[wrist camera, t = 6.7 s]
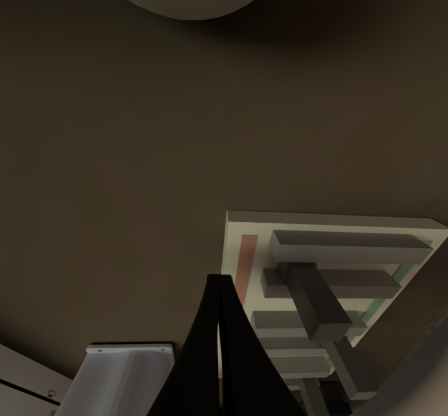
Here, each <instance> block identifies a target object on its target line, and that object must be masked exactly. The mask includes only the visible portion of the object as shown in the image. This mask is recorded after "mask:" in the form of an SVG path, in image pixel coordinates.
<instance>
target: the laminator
mask: <svg viewBox="0 0 448 416" xmlns="http://www.w3.org/2000/svg"><path fill="white" fill-rule="evenodd" d="M72 382H73V380H71V379H69V378H67V377H65V376H63V375H61V374H59V373H57V372H55V371H53V370H51V369H49V368H47V367H45V366H43V365H41V364H39V363H37V362H35V361H33V360H31V359H29V358H27V357H25V356H23V355H21V354H19V353H17V352H15V351H13V350H11V349H9V348H7V347H5V346H3V345H1V344H0V416H55V414H56V412H57V410H58V408H59V407H60V405H61V403H62V401H63V399H64V397H65V395H66V393H67V392H68V390H69V388H70V386H71V384H72Z"/></svg>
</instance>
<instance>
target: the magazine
mask: <svg viewBox="0 0 448 416" xmlns="http://www.w3.org/2000/svg"><path fill="white" fill-rule="evenodd" d="M319 383H320V386H319V389H320V391H321V394H322V397H323V399H324V402H325V405H326V407H327V410H328V412H329V415H330V416H349V415H351V414H353V413H352V411H351V409H350V406H349V404H348V403H344V402H343V400H342V397H341V395H340V393H339V391H338V388H337V386H336V384H335V382H319ZM300 406H301V407H302V408H303V410H304V411H305V413H306V414H307V416H308V413H307V410H306V407H305V404H304V400H303V401H302V402H301V404H300Z"/></svg>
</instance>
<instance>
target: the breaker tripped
mask: <svg viewBox="0 0 448 416" xmlns="http://www.w3.org/2000/svg"><path fill="white" fill-rule="evenodd" d="M316 267H317V263H307V262H278V265H277V270H278V272H279V275H280V277H281V280H282V281H285V283H286V285H287V287H288V290H289V292H290V295H291V297H292V299H293V302H294V304H295V307H296V309H297V311H298V314H299V316H300V318H301V321H302V323H303V326H304V328H305V330H306V333H307V335H308V338H309V340H310V342H312V341H341V339H342V338H343V337H344V335H345V334H346V332H347V331H348V330H349V328H350V327H351V326H352V324H353V322H352V321H351V319H350V318H349V316H348V315H347V313H346V312H345V310H344V309H343V307H342V306H341V304H340V303H339V301H338V300H337V298H336V297H335V295H334V294H333V292H332V290H331V289H330V287H329V286H328V284H327V283H326V281H325V280H324V278H323V277H322V275H321V274H320V272H319V271H318V269H317V268H316Z"/></svg>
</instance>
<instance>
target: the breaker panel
mask: <svg viewBox="0 0 448 416" xmlns="http://www.w3.org/2000/svg"><path fill="white" fill-rule="evenodd" d="M447 237H448V227H446V226H444V225H442V224H440V223H438V222H436V221H434V220H432V219H427V218H403V217H379V216H354V215H330V214H306V213H282V212H257V211H233V210H227V216H226V227H225V238H224V249H223V259H222V270H221V274H230V275H231V276H232V279H233V282H234V286H235V288H236V291H237V294H238V297H239V299H240V302H241V304H242V306H243V308H244V311H245V313H246V315H247V317H248V319H249V322H250V324H251V325H252V327H253V329H254V331H255V333H256V335H257V337H258V339H259V341H260V343H261V344H262V346H263V348H264V350H265V351H266V353H267V355H268V357H269V358H270V360H271V361H272V363H273V365H274V366H275V368H276V370H277V371H278V373H279V374H280V376H281V377H282V379H283V380H284V382H285V383H286V385H287V386H288V388H289V389H290V390H300V388H299V384H297V383H296V380H295V378H316V381H317V384H318V386H320V383H319V381H318V378H322V377H327V376H328V375H331V374H332V372H333V371H334V370H335V368H334V366H333V364H332V362H331V360H330V358H329V355H328V353H327V351H326V349H325V347H324V346H322V345H321V343H320V341H312V342H310V340H309V338H308V335H307V333H306V330H305V328H304V326H303V323H302V321H301V318H300V316H299V314H298V311H297V309H296V307H295V304H294V302H293V299H292V297H291V295H290V292H289V290H288V287H287V285H286V283H285V281H282V280H281V277H280V275H279V272H278V270H277V265H278V262H307V263H317V267H316V268H317V269H318V271H319V272H320V274H321V275H322V277H323V278H324V280H325V281H326V283H327V284H328V286H329V287H330V289H331V290H332V292H333V294H334V295H335V297H336V298H337V300H338V301H339V303H340V304H341V306H342V307H343V309H344V310H345V312H346V313H347V315H348V316H349V318H350V319H351V321H352V322H353V324H352V326H351V327H350V328H349V330H348V331H347V332H346V334H345V335H344V336H348V338H347V339H348V340H349V342H350V344H351V345H352V347H353V348H354V346H355V345H356V344H357V343H358V342H359V341H360V339H361V338H362V337H363V336H364V335H365V333H366V332H367V331H368V330H369V329H370V328H371V326H372V325H373V324H374V323H375V322H376V320H377V319H378V318H379V317H380V316H381V315H382V313H383V312H384V311H385V310H386V309H387V308H388V306H389V305H390V304H391V303H392V302H393V300H394V299H395V298H396V297H397V296H398V295H399V293H400V292H401V291H402V290H403V289H404V287H405V286H406V285H407V284H408V283H409V282H410V280H411V279H412V278H413V277H414V276H415V274H416V273H417V272H418V271H419V270H420V269H421V267H422V266H423V265H424V264H425V263H426V261H427V260H428V259H429V258H430V257H431V256H432V254H433V253H434V252H435V251H436V250H437V249H438V247H439V246H440V245H441V244H442V243H443V241H444V240H445V239H446V238H447ZM218 374H219V378H222V360H221V349H220V337H219V325H218Z"/></svg>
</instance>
